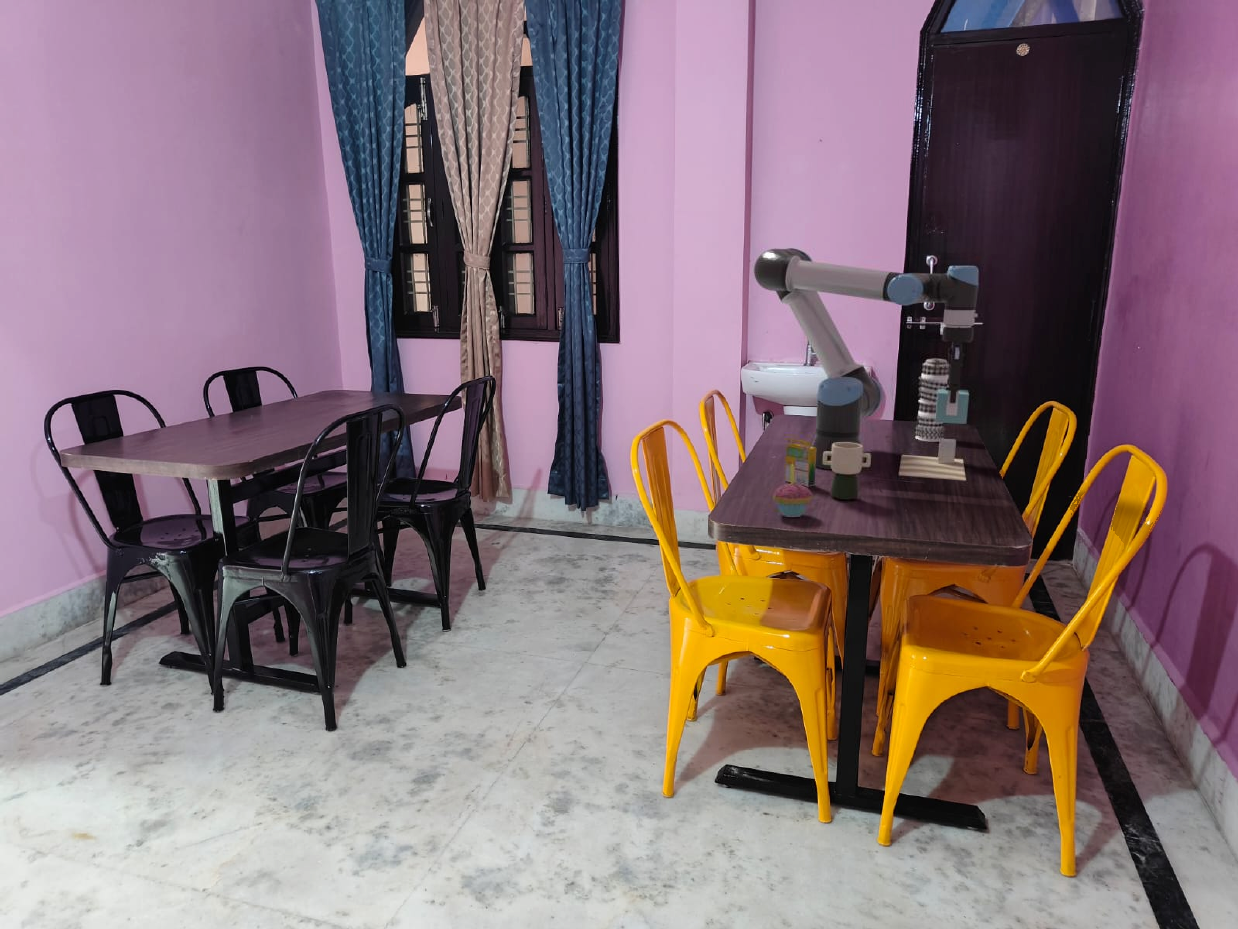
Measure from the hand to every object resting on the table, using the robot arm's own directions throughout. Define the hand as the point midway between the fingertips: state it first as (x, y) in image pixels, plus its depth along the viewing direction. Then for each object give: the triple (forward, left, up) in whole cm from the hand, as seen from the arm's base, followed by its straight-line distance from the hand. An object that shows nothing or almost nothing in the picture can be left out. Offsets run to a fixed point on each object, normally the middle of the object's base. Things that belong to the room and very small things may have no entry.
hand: (951, 412), depth 226 cm
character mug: (-42, -20, -15) cm, 49 cm away
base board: (-7, -4, -15) cm, 17 cm away
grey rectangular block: (0, 0, -14) cm, 14 cm away
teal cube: (0, 0, -2) cm, 2 cm away
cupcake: (-60, -29, -15) cm, 68 cm away
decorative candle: (+18, +33, -15) cm, 41 cm away
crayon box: (-46, -5, -15) cm, 49 cm away
